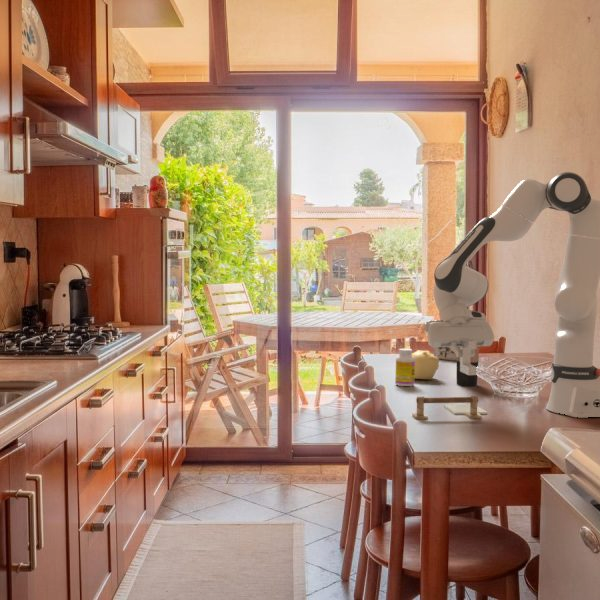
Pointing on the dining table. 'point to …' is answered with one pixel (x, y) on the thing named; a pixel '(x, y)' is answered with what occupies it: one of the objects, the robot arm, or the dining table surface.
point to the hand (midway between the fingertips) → (466, 356)
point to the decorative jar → (444, 353)
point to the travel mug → (464, 378)
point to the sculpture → (425, 364)
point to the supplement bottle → (405, 368)
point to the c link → (467, 356)
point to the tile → (462, 409)
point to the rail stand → (472, 400)
